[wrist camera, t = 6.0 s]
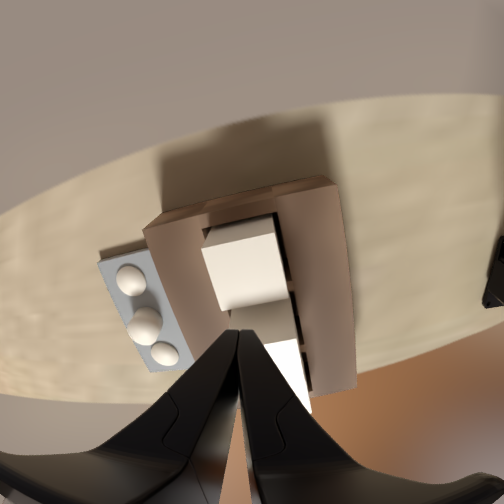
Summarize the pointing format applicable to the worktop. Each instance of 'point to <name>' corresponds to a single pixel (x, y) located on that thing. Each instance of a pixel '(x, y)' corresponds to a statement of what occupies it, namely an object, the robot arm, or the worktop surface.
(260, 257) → the button
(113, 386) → the worktop surface
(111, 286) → the card
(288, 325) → the button middle
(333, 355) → the board
